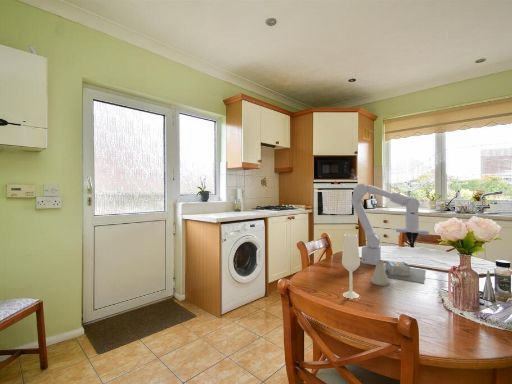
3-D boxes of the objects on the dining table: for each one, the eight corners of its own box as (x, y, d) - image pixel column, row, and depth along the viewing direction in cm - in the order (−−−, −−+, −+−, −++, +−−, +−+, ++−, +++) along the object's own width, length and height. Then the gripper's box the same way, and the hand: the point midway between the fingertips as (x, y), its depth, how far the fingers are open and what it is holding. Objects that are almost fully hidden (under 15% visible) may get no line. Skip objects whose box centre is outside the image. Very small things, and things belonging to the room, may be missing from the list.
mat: (378, 276, 123) (378, 275, 123) (385, 264, 139) (385, 264, 139) (423, 283, 113) (424, 282, 113) (425, 270, 129) (425, 269, 129)
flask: (381, 287, 110) (381, 264, 109) (367, 282, 116) (367, 259, 116) (392, 284, 113) (392, 261, 113) (378, 279, 119) (377, 257, 119)
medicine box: (410, 266, 121) (390, 265, 123) (410, 276, 121) (390, 275, 123) (404, 261, 129) (385, 260, 130) (404, 270, 129) (385, 269, 131)
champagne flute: (345, 290, 107) (345, 232, 106) (362, 295, 103) (362, 234, 102) (339, 296, 102) (338, 235, 101) (356, 301, 97) (356, 237, 97)
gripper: (395, 221, 135) (395, 247, 136) (428, 223, 127) (428, 250, 127) (396, 219, 141) (397, 244, 141) (429, 221, 133) (429, 247, 133)
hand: (412, 247), depth 135 cm, fingers closed
